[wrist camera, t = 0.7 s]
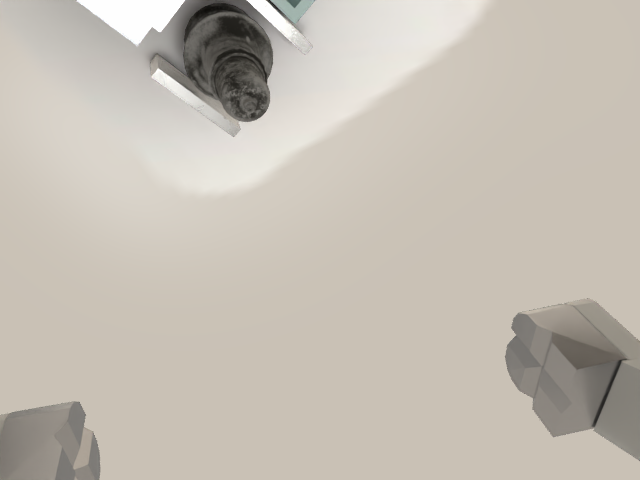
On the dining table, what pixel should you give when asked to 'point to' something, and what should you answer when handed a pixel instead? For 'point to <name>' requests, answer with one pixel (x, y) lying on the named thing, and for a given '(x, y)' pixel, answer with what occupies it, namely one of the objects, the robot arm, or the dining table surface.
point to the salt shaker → (229, 60)
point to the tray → (293, 8)
